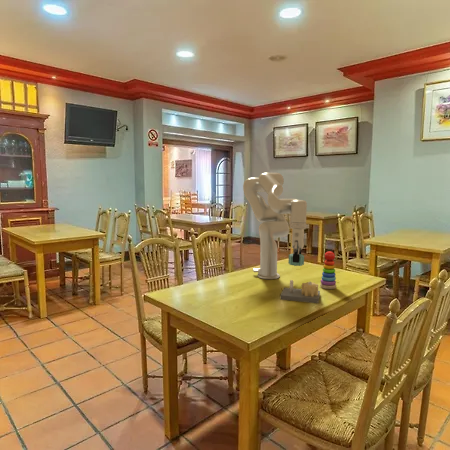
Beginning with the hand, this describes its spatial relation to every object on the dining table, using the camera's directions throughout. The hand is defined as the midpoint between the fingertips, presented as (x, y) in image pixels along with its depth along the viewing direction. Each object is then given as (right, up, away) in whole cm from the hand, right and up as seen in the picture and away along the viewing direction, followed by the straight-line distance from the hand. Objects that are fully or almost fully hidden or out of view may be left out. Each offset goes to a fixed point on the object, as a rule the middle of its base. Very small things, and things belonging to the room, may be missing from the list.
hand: (296, 260), depth 174 cm
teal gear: (0, -2, 0) cm, 2 cm away
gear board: (0, -16, -10) cm, 19 cm away
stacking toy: (+17, -15, +5) cm, 23 cm away
